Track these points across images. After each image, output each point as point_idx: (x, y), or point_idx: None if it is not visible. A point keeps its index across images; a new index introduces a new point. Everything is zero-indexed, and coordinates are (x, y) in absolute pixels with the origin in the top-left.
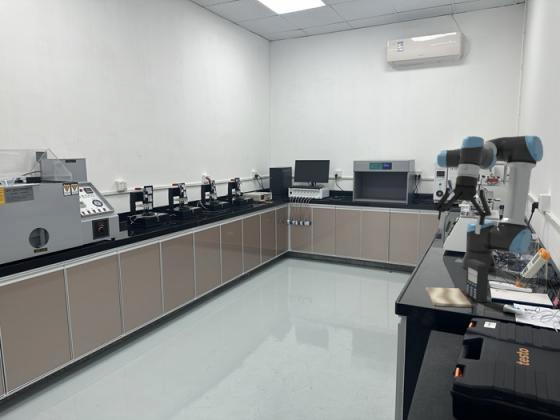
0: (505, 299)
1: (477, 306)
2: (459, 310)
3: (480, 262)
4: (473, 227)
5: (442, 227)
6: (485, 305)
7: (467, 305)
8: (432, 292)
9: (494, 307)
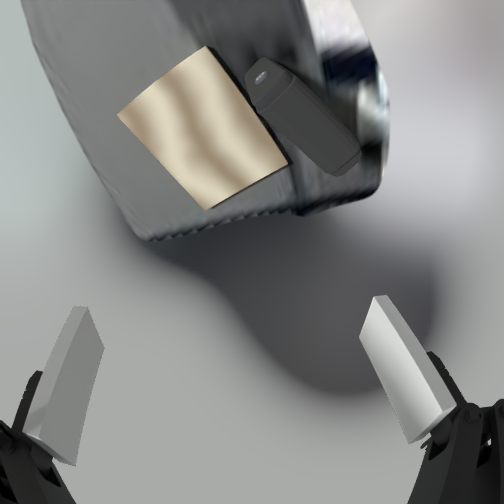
0: (356, 46)
1: None
2: (267, 197)
3: (331, 140)
4: None
5: (89, 331)
6: None
7: (278, 167)
8: (158, 143)
9: None
